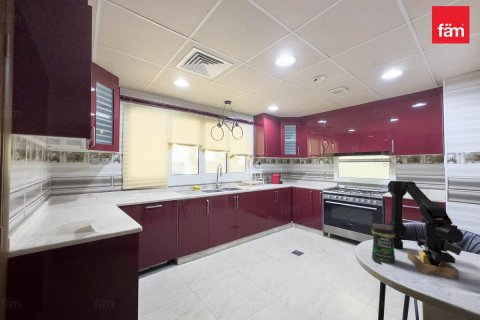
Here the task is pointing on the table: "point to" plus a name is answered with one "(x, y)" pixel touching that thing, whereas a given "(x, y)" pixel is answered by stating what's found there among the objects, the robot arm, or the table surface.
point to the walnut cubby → (434, 268)
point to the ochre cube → (423, 258)
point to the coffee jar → (383, 243)
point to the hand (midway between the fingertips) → (434, 269)
